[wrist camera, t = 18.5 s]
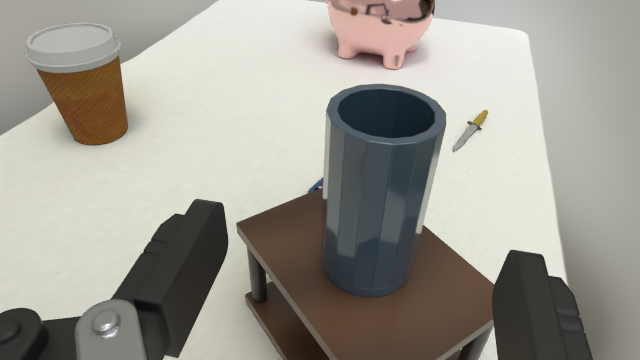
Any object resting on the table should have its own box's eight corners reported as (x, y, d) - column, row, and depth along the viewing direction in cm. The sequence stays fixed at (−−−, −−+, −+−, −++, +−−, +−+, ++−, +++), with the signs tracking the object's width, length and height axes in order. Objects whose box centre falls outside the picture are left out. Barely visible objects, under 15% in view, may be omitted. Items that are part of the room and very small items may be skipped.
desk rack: (245, 302, 37) (235, 222, 32) (352, 248, 42) (360, 171, 37) (357, 474, 28) (371, 405, 22) (478, 379, 33) (515, 302, 27)
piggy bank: (343, 27, 86) (349, -67, 76) (436, 46, 80) (455, -54, 70) (305, 56, 76) (306, -49, 66) (409, 80, 70) (427, -32, 60)
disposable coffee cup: (40, 144, 54) (-2, 46, 46) (94, 106, 61) (65, 16, 54) (109, 160, 52) (76, 60, 44) (156, 119, 59) (135, 27, 52)
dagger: (462, 152, 54) (447, 144, 55) (459, 158, 55) (444, 149, 55) (494, 112, 61) (480, 105, 61) (491, 118, 61) (477, 110, 62)
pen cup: (303, 250, 30) (304, 100, 23) (373, 217, 32) (392, 74, 26) (357, 313, 26) (378, 158, 19) (430, 271, 29) (471, 121, 22)
